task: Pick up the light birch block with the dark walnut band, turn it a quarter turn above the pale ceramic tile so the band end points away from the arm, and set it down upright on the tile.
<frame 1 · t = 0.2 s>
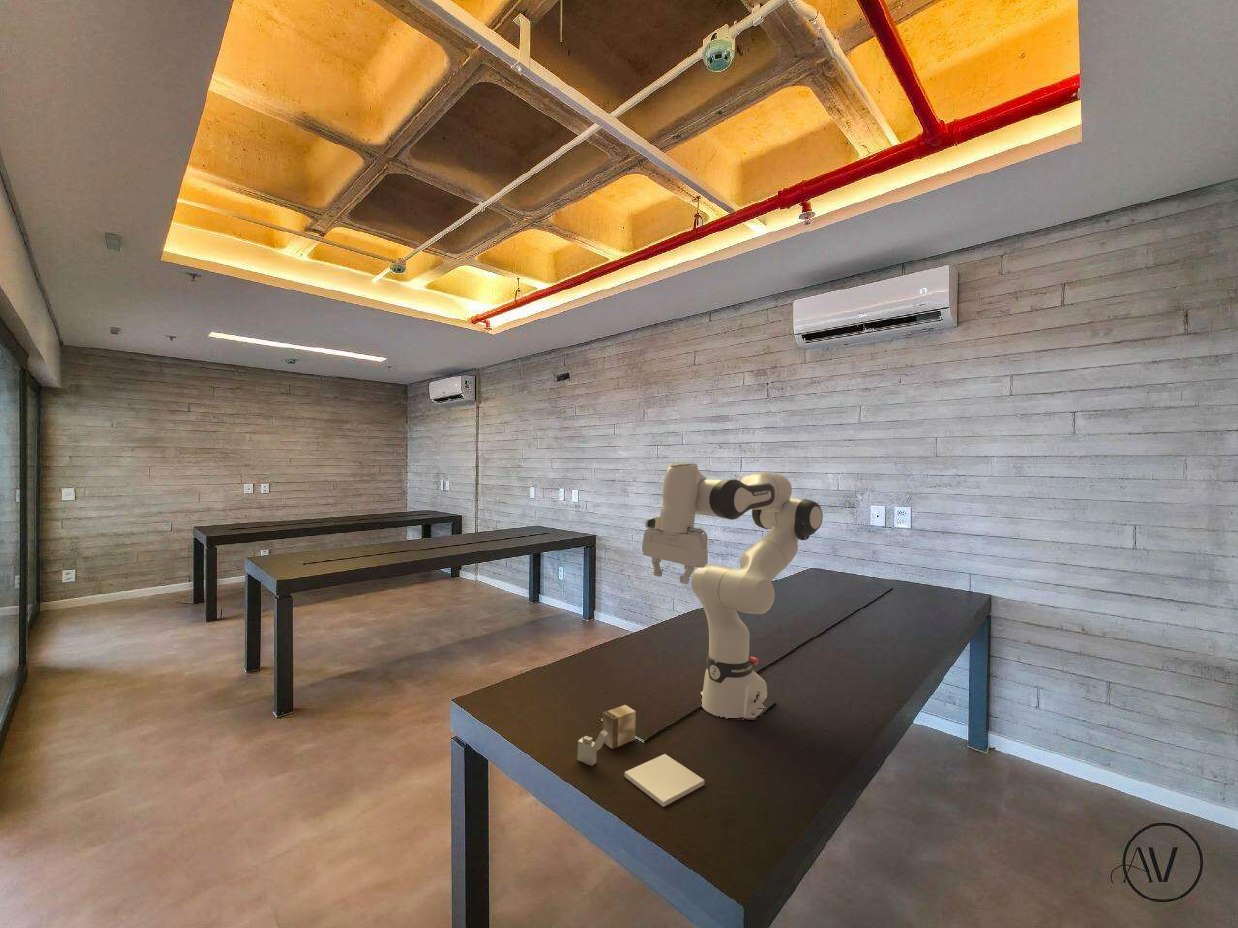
hand: (670, 579, 128), 39 cm above the table, tool pointing down, fingers open, 8 cm apart
tile: (664, 780, 108), on the table
lighter: (592, 764, 114), on the table
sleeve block: (618, 740, 124), on the table
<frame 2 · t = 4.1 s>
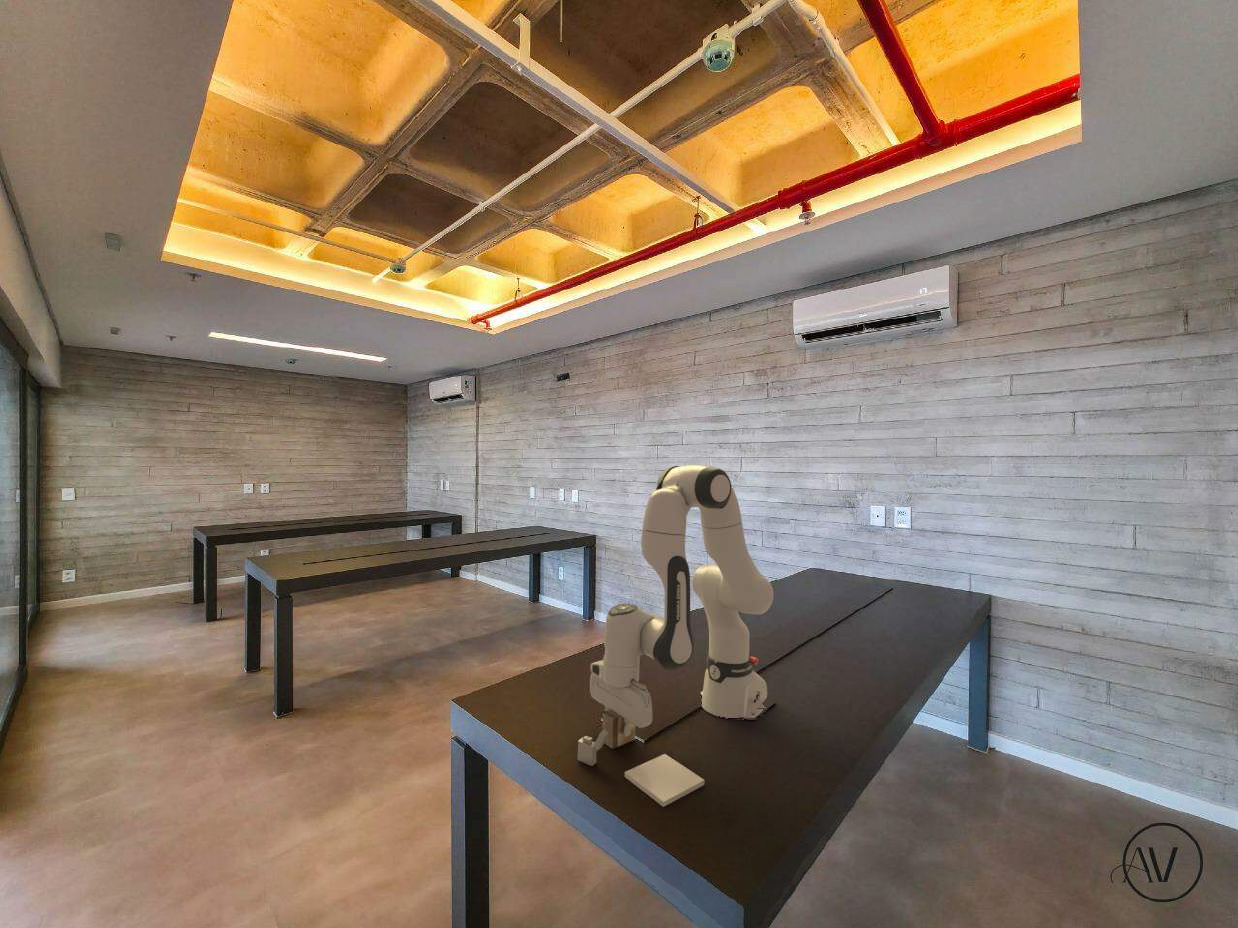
hand: (618, 729, 124), 3 cm above the table, tool pointing down, fingers closed on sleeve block, 4 cm apart
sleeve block: (618, 740, 124), on the table, touching gripper
everything else where it was.
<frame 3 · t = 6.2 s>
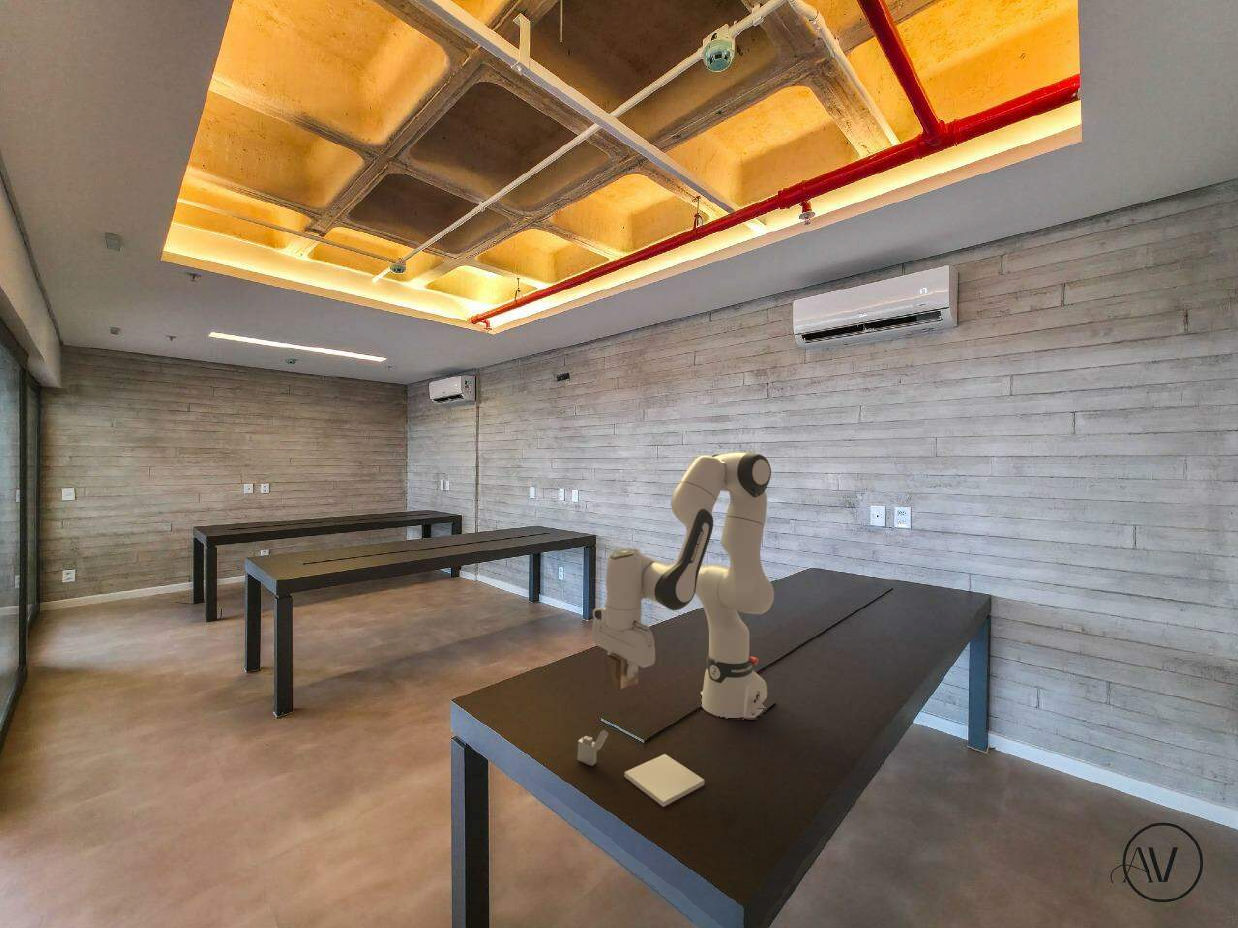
hand: (621, 673, 124), 16 cm above the table, tool pointing down, fingers closed on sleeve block, 4 cm apart
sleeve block: (621, 683, 124), point 14 cm above the table, touching gripper
everything else where it was.
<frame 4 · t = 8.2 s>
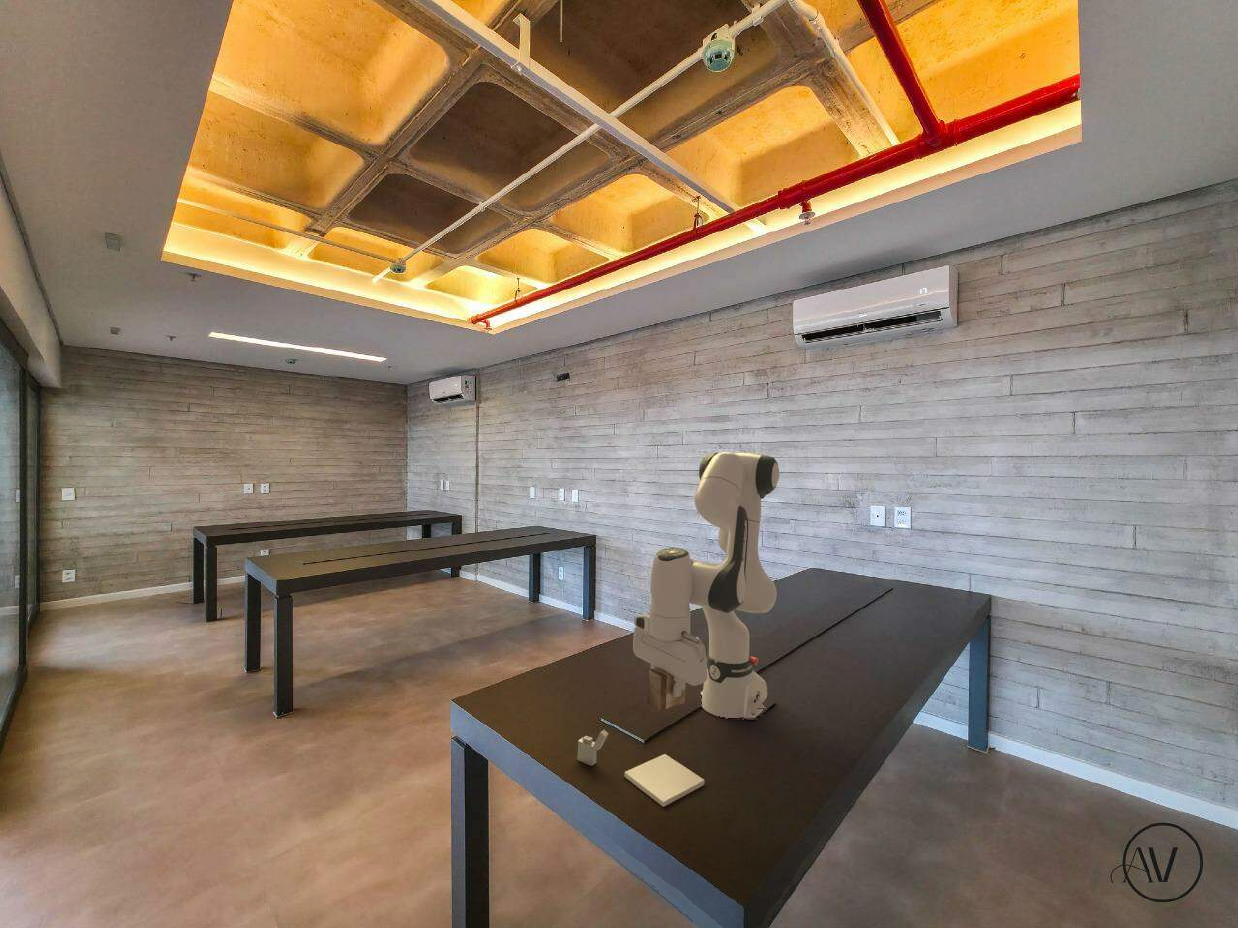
hand: (667, 690, 108), 19 cm above the table, tool pointing down, fingers closed on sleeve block, 4 cm apart
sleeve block: (666, 702, 108), point 17 cm above the table, touching gripper
everything else where it was.
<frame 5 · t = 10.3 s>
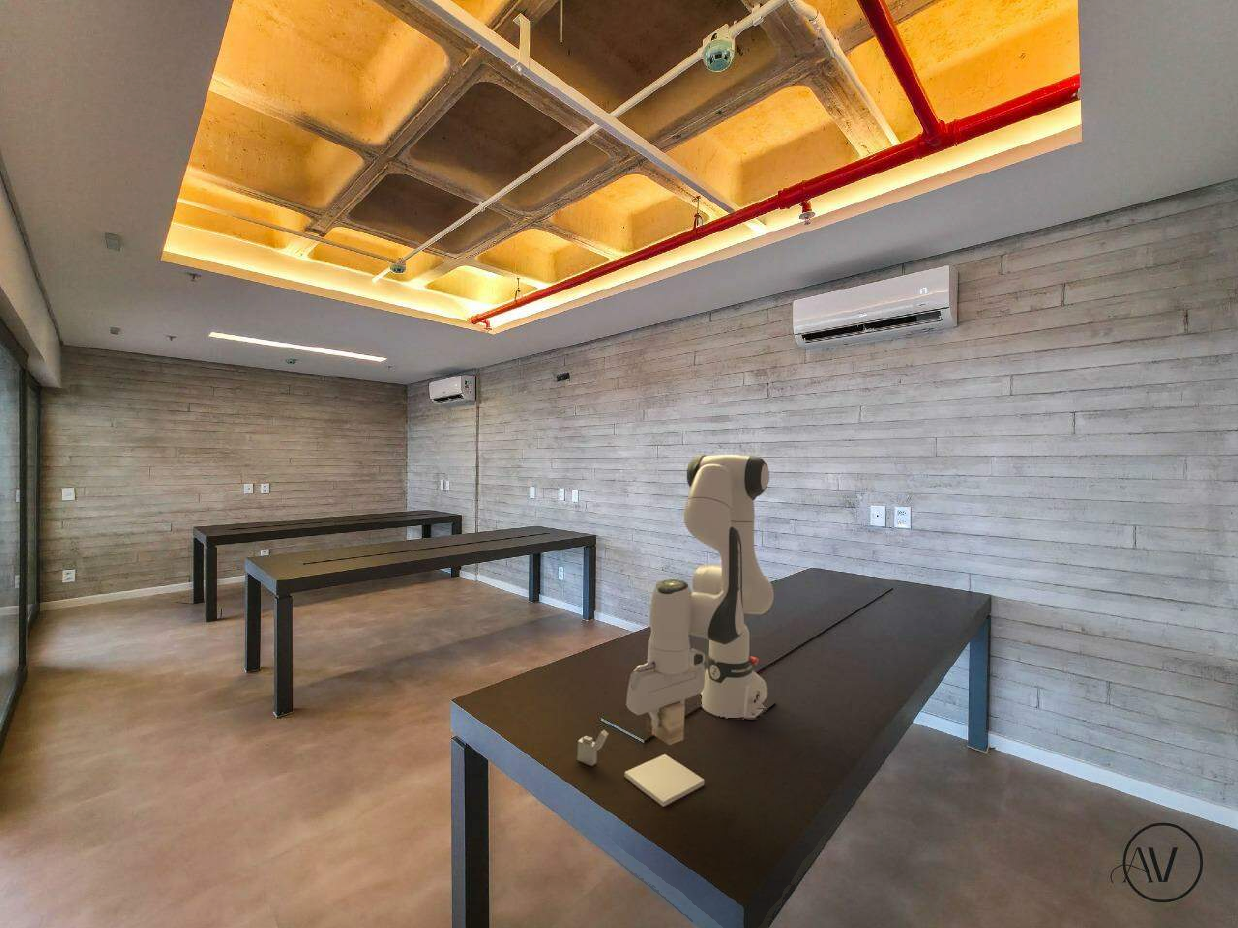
hand: (665, 722, 108), 12 cm above the table, tool pointing down, fingers closed on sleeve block, 4 cm apart
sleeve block: (664, 734, 108), point 10 cm above the table, touching gripper
everything else where it was.
when the fingers open (5 cm above the table, at t = 12.3 s): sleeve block drops 1 cm, resting on tile.
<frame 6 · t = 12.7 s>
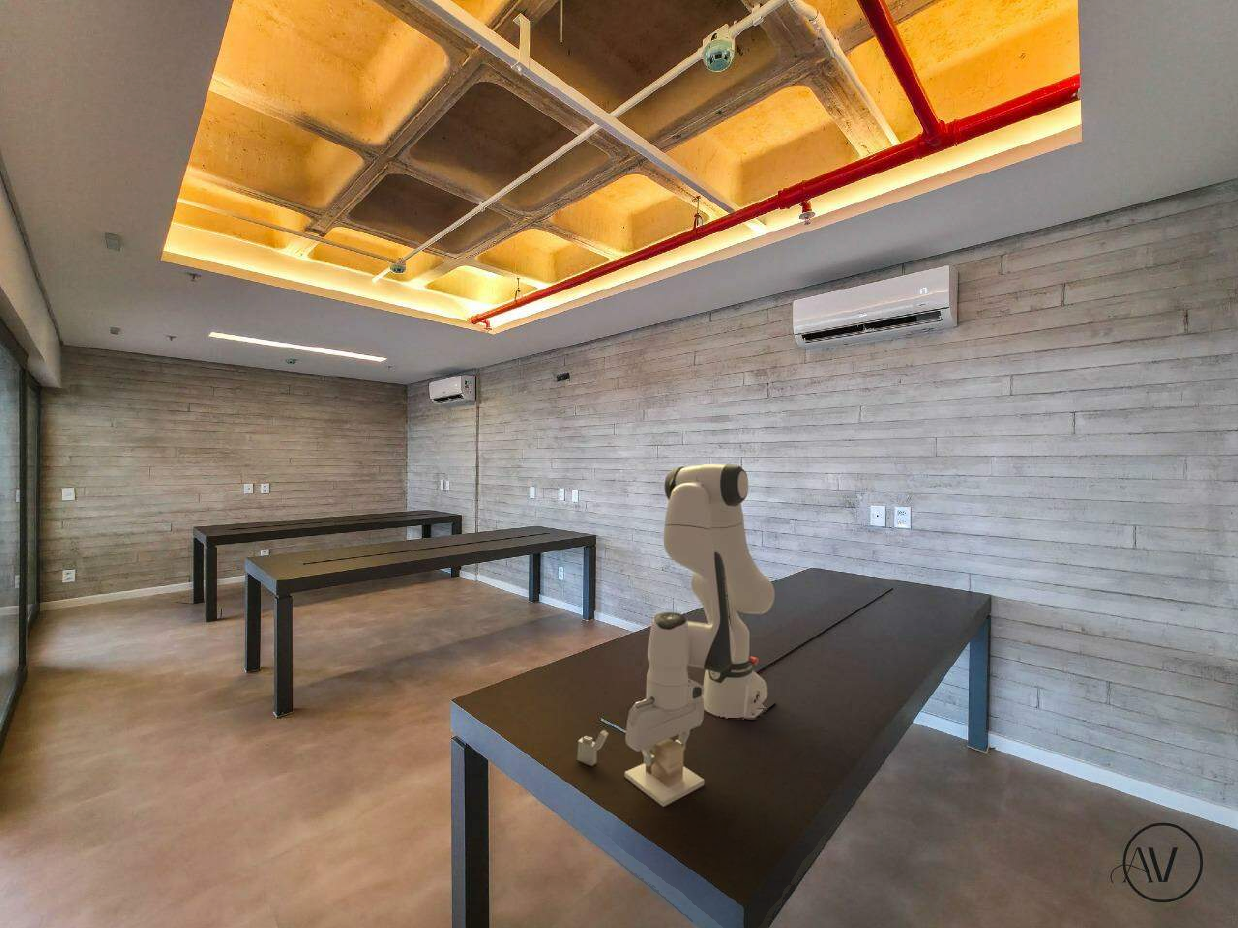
hand: (664, 756, 108), 5 cm above the table, tool pointing down, fingers open, 8 cm apart
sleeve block: (664, 775, 108), point 1 cm above the table, touching tile
everything else where it was.
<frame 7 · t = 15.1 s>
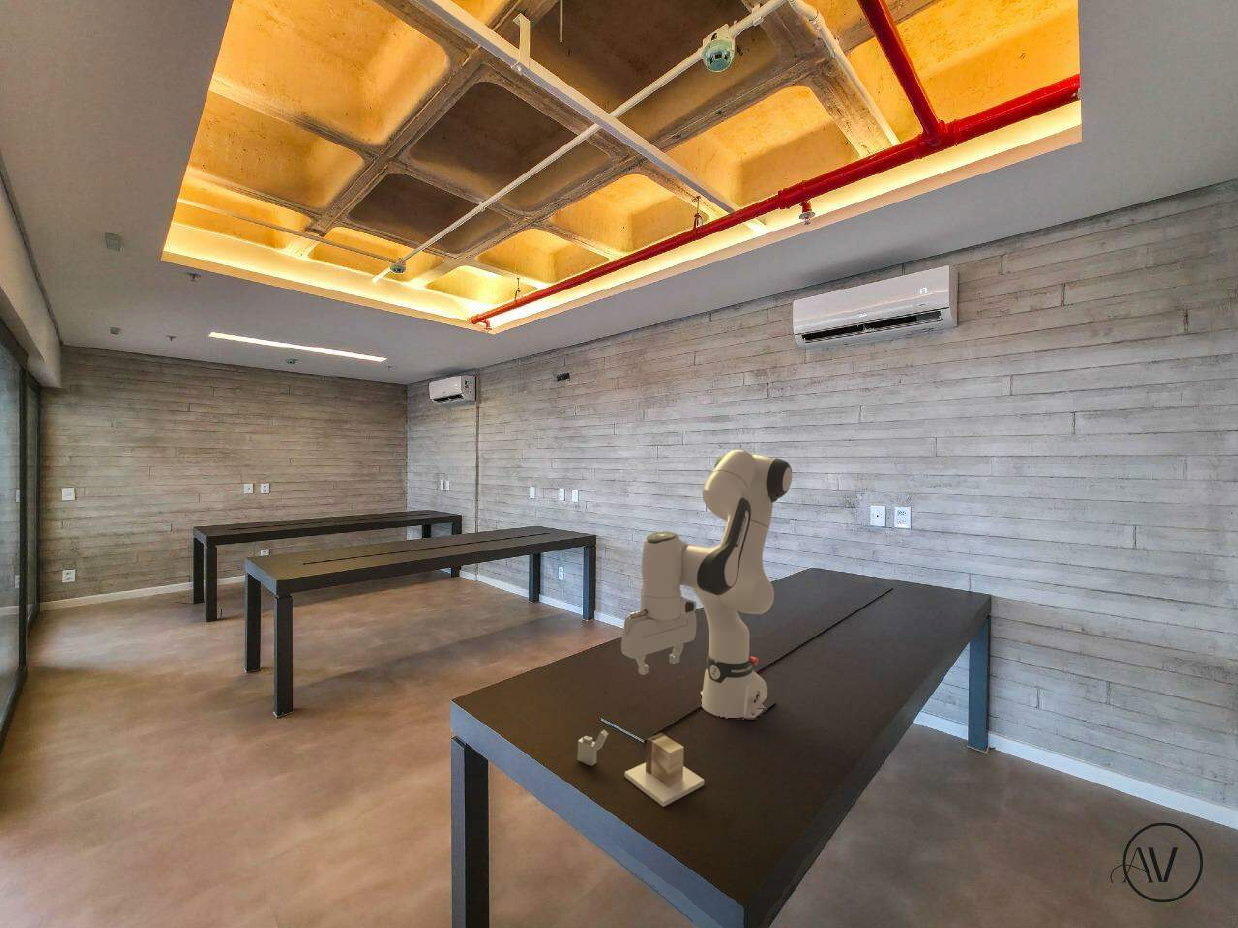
hand: (659, 668, 113), 22 cm above the table, tool pointing down, fingers open, 8 cm apart
nothing on the table moved.
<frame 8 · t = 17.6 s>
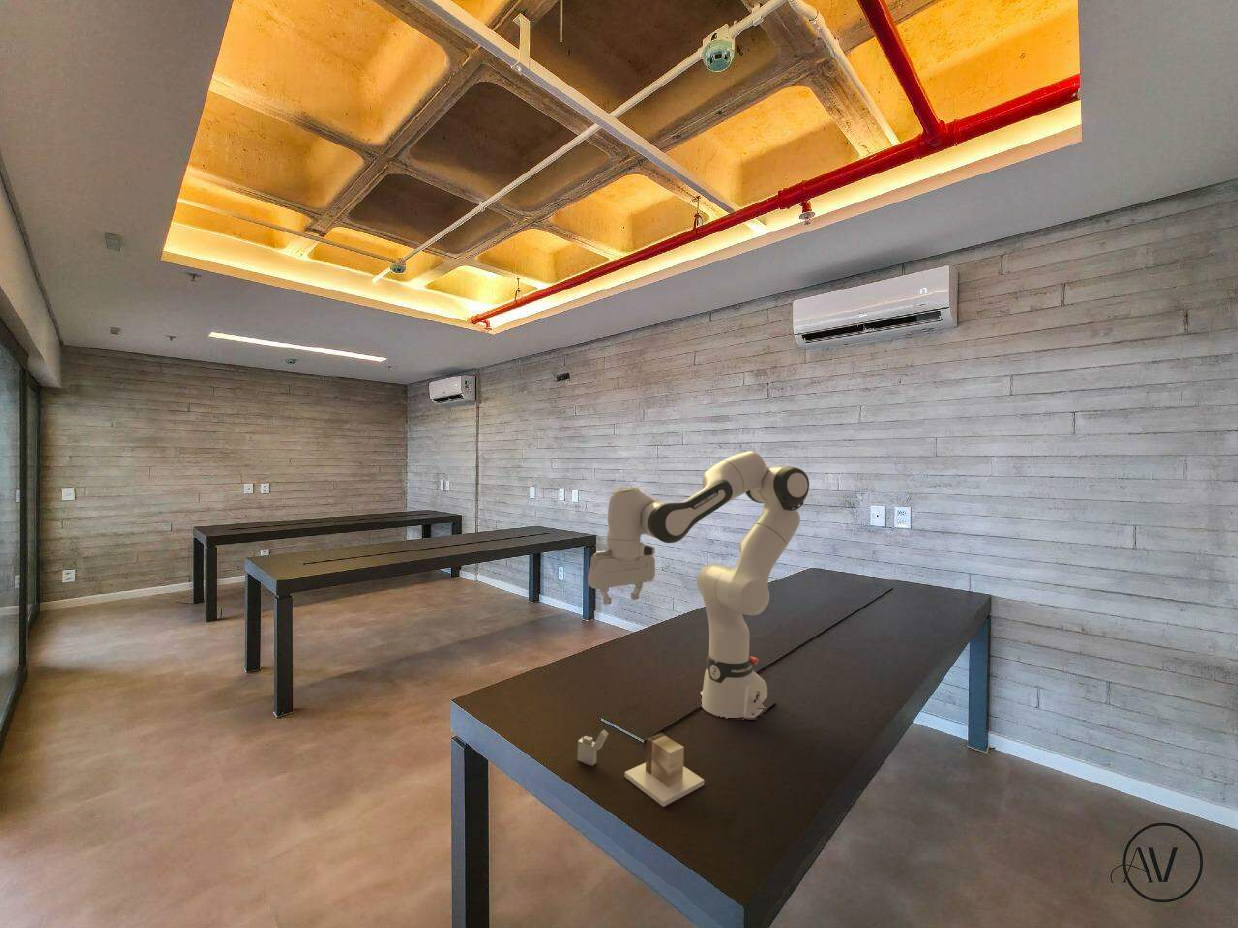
hand: (621, 601, 134), 31 cm above the table, tool pointing down, fingers open, 8 cm apart
nothing on the table moved.
at the end: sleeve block inside the target area on the tile (0.1 cm from its centre), point 1.0 cm above the tile's base; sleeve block tilted 0°; the gripper is holding nothing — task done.
